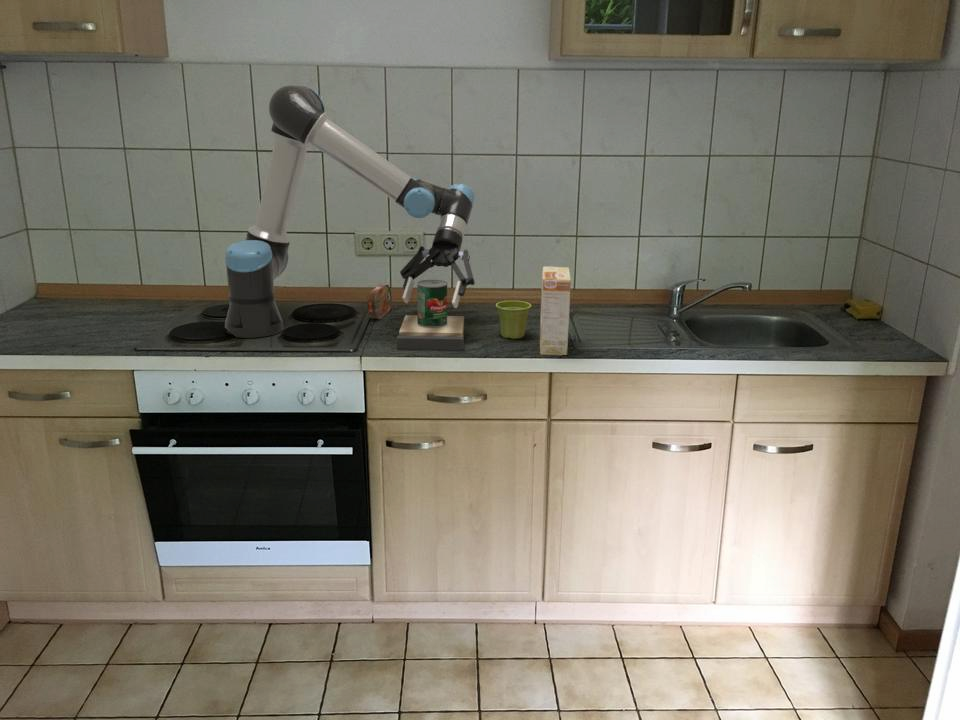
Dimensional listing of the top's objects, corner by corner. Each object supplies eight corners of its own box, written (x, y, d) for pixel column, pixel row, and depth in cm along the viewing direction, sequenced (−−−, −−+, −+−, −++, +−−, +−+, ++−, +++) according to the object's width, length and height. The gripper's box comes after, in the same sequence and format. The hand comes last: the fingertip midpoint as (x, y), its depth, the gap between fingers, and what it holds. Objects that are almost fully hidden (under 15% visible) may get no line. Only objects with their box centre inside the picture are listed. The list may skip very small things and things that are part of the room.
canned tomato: (438, 329, 200) (438, 287, 197) (411, 325, 203) (411, 284, 200) (452, 322, 207) (452, 281, 204) (426, 318, 210) (426, 278, 207)
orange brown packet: (376, 322, 220) (375, 293, 218) (366, 321, 221) (365, 292, 218) (392, 309, 234) (392, 281, 232) (382, 308, 235) (382, 281, 232)
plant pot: (505, 342, 204) (505, 310, 201) (489, 333, 212) (489, 302, 209) (536, 338, 208) (537, 307, 205) (519, 329, 216) (520, 299, 213)
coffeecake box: (539, 337, 209) (542, 265, 203) (566, 338, 208) (569, 266, 202) (538, 355, 195) (542, 278, 188) (567, 356, 194) (571, 279, 188)
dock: (396, 349, 197) (396, 334, 196) (404, 329, 214) (404, 315, 213) (463, 350, 197) (463, 335, 196) (465, 330, 214) (465, 316, 213)
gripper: (496, 247, 210) (478, 314, 201) (410, 240, 217) (389, 306, 208) (490, 230, 203) (472, 299, 194) (402, 224, 210) (380, 291, 201)
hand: (429, 303), depth 201 cm, fingers open, 13 cm apart
